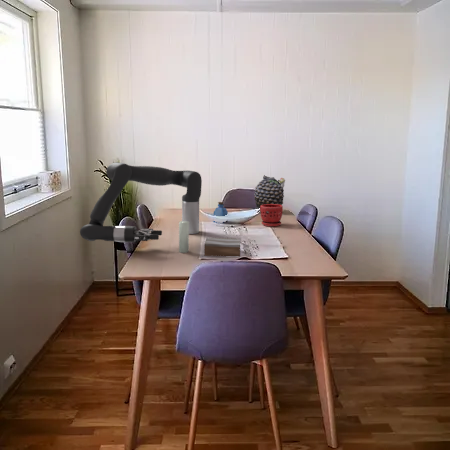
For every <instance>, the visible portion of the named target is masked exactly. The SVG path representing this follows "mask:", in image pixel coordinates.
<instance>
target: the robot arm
mask: <svg viewBox="0 0 450 450" xmlns="http://www.w3.org/2000/svg"><path fill="white" fill-rule="evenodd" d="M105 170H106V175H107V178H109V179H110V180H111V181H110V185H109V186H108V188H107V189H106V190H105V191H104V192H103V194H102V195H101V196H100V197H99V198H98V200H97V201H96V202H95V204H94V206H93V209H92V211H91V212H90V214H89V215H90V216H89V217H90V220H89V223H88V224H85V225H83V226H82V227H81V228H80V230H79V235H80V236H81V238H83V239H84V240H86V241H89V242H94V241H96V240H99V241H100V240H101V241H105V242H118V243H136V241H137V242H140V241H141V242H148V241H151V240H153V241H155V240H156V241H158V240H160V239H159V237H160V236H162V235H163V231H162V230H157V229H156V230H155V229H154V228H140V230H138V229H137V226H134V225H104V222H105V220H106V219H107V216H108V215H109V213H110V210H111V208H112V207H113V205H114V203H115V202H116V200H117V199H118V197H119V196H120V194H121V193H122V191H123V189H124V188H125V187H126V186H127V184H128V182H129V181H131V182H137V183H140V184H146V185H151V186H169V185H174V186H179V187H182V188H186V193H185V194H183V195H182V197H181V200H182V201H181V213H182V214H181V221H188V222H189V235H196V234H199V233H200V199H201V195H202V186H203V185H202V181H203V180H202V175H201V174H200V173H199V172H198V171H193V170H171V169H169V168H166V167H161V166H151V165H148V166H147V165H130V164H129V165H128V164H127V163H124V162H112V163H109V165H108V166H107V168H106V169H105Z"/></svg>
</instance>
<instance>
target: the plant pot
mask: <svg viewBox="0 0 450 450" xmlns="http://www.w3.org/2000/svg"><path fill="white" fill-rule="evenodd" d="M283 210H284V208H283V204H282V205H278V204H264V205H261V206H260V212H259V213H260V217H261V220H262V221H261V224H262V226H265V227H279V226H280V225H282V221H281V219H282V216H283V212H284V211H283ZM267 211H268V212H269V213H267Z"/></svg>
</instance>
